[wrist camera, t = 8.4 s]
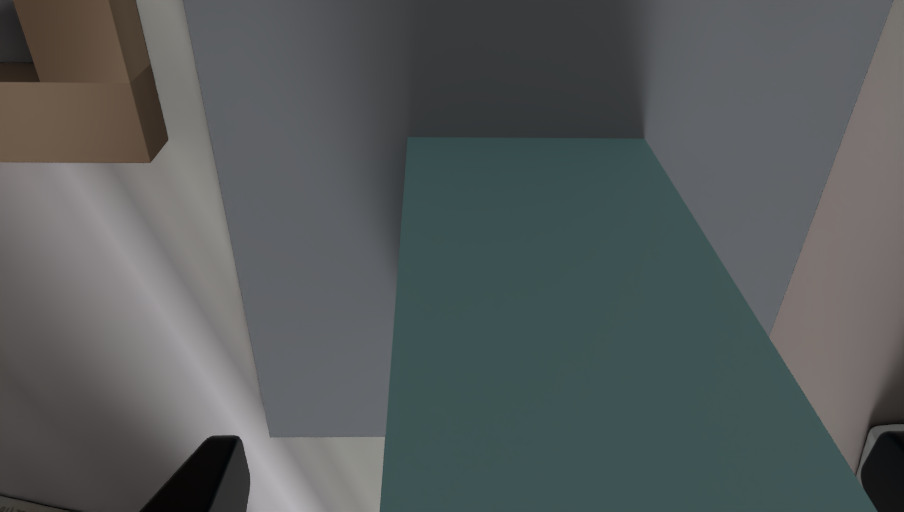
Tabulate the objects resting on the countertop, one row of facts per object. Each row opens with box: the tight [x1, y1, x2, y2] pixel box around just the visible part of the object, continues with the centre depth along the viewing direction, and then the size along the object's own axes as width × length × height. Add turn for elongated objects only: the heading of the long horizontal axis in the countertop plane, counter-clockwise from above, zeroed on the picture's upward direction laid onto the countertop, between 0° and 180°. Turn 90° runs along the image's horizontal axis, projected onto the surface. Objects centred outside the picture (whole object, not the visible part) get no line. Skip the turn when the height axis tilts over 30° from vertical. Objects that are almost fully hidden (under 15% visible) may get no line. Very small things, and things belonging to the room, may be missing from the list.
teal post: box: [380, 137, 878, 512], centre depth 10 cm, size 4×4×10 cm
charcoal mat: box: [183, 0, 893, 437], centre depth 14 cm, size 12×12×1 cm
